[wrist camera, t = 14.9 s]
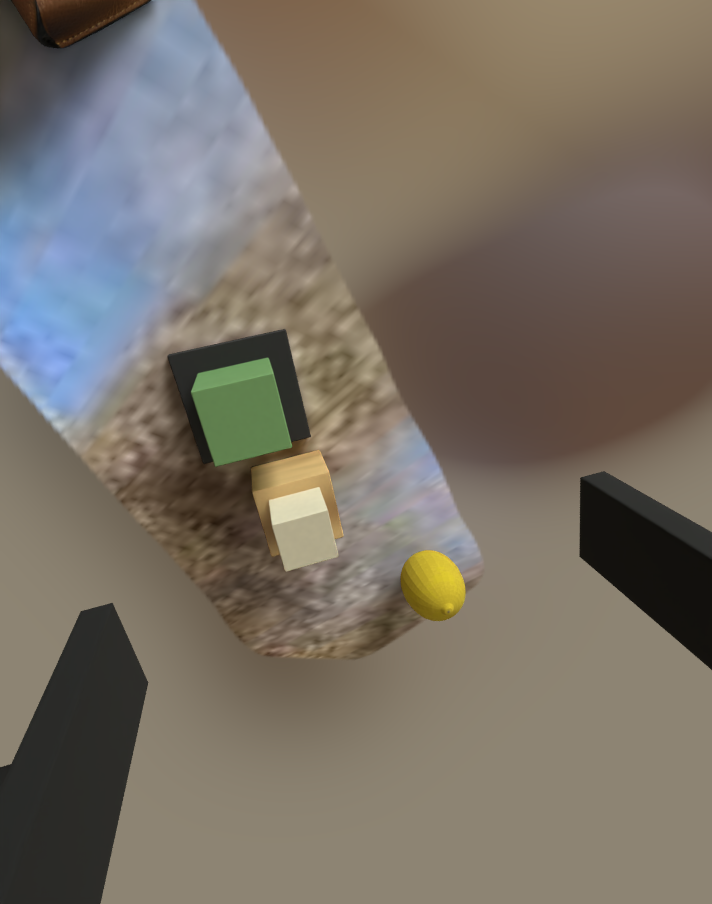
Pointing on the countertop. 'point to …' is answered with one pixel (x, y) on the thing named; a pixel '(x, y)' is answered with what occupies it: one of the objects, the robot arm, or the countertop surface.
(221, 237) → the countertop surface
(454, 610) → the lemon
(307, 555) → the cream block
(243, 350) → the coaster
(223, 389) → the green block
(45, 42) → the sunglasses case
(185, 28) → the countertop surface
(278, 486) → the maple block
